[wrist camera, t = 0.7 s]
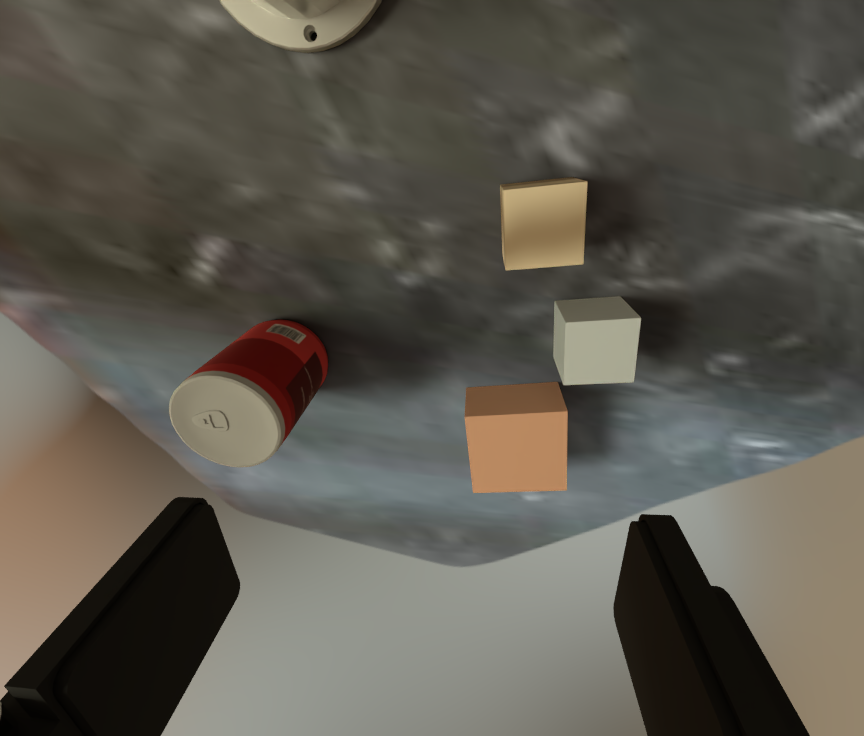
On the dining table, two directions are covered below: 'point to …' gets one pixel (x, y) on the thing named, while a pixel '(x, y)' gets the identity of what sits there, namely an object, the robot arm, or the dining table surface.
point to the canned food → (250, 394)
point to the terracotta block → (517, 437)
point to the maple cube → (543, 223)
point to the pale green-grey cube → (595, 340)
